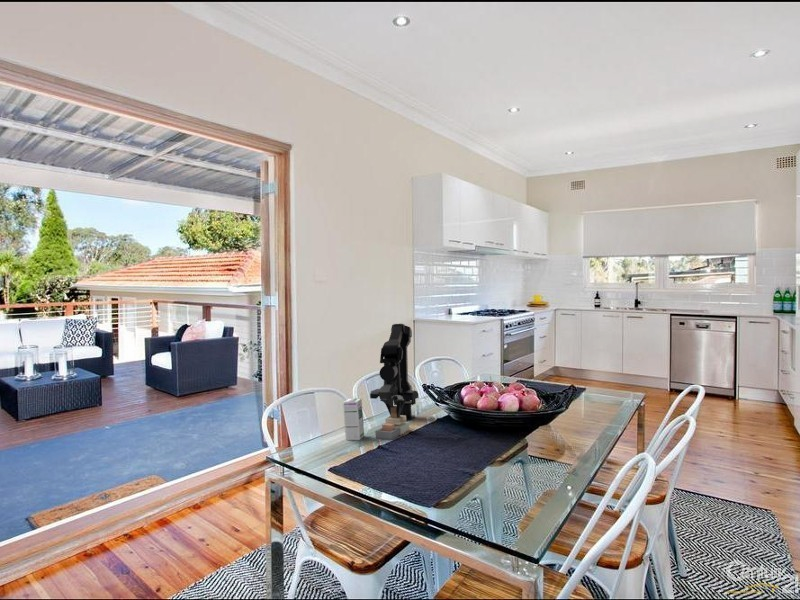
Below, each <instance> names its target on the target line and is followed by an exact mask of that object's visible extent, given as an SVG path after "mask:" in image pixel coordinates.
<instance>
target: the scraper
mask: <svg viewBox="0 0 800 600" xmlns="http://www.w3.org/2000/svg"><path fill="white" fill-rule="evenodd" d="M390 409H391V416H390V415H389V416H387V417H385V418H384V421H385V422H384V423H391V424H396V425H400V424H401V423H403V422H407V420H406V416H404V415H400V416H399V417H397V405H393V407H391V408H390Z"/></svg>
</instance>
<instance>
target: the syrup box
mask: <svg viewBox="0 0 800 600" xmlns="http://www.w3.org/2000/svg"><path fill="white" fill-rule="evenodd" d="M362 401H363V400H362V398H359V397H358V398H347V400H345V401H343V402H342V407H343V417H344V418H343V420H344V433H345V435H344V436H345V441H360V440H361V439H362V438H363V437H364V436H365V430H364V429H365V428H364V414H363V402H362Z"/></svg>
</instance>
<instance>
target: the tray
mask: <svg viewBox="0 0 800 600" xmlns="http://www.w3.org/2000/svg"><path fill="white" fill-rule="evenodd" d="M374 433H375V439H378V440H386V441H387V440H388V441H389V440H390V441H393V440H394V438H395V439H396V438H398V437H400V436H402V434H401V432H400V428H399V427H398V428H396V429H395V430H393V431H391V432H389V431H383V430H382V427H380V428H378V429H376V430H375V431H374ZM399 435H400V436H399ZM392 439H393V440H392Z"/></svg>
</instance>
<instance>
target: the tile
mask: <svg viewBox="0 0 800 600" xmlns="http://www.w3.org/2000/svg"><path fill="white" fill-rule="evenodd" d="M381 426H382V427H381V428H382V430H383V431H389V432H391V431H393V430H395V424H391V423H386V422H384V423H383V424H382V425H381Z"/></svg>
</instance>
